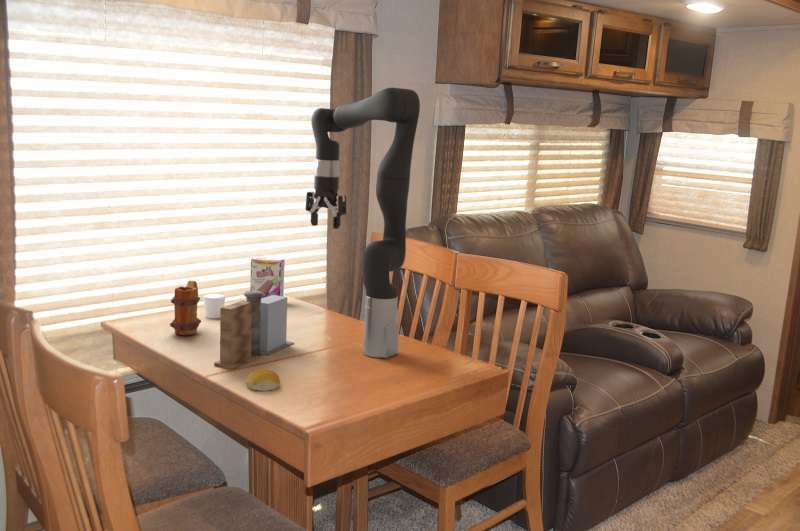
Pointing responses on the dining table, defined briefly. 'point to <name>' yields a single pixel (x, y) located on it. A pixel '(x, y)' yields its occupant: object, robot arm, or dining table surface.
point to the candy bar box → (267, 276)
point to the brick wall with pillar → (240, 331)
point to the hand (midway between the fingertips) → (325, 227)
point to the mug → (186, 309)
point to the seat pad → (276, 348)
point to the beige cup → (213, 305)
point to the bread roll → (263, 380)
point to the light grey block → (273, 322)
